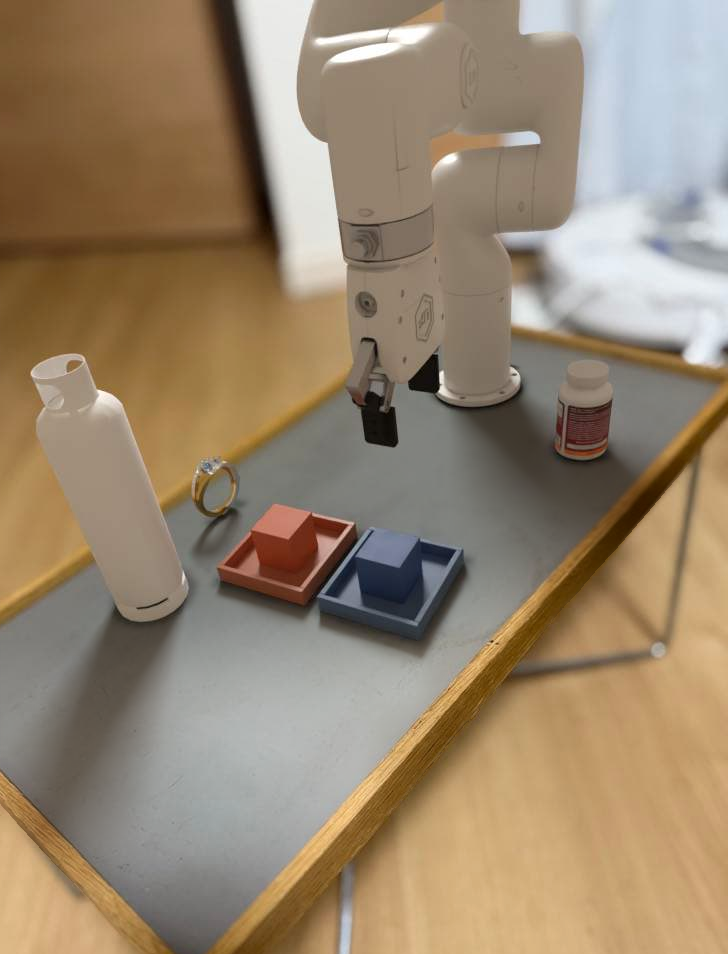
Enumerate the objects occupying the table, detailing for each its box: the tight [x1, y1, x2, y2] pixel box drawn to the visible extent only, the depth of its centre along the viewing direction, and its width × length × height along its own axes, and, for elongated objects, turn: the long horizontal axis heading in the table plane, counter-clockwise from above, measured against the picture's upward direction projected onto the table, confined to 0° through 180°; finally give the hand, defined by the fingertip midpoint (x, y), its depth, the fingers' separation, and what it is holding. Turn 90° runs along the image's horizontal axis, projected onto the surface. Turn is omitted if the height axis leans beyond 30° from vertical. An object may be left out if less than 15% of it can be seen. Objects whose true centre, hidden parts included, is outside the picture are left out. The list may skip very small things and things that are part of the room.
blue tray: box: [316, 525, 465, 641], centre depth 74 cm, size 12×11×2 cm
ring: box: [191, 454, 241, 518], centre depth 86 cm, size 7×3×8 cm, turn 137°
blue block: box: [355, 527, 423, 604], centre depth 72 cm, size 5×5×5 cm
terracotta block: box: [249, 503, 318, 574], centre depth 78 cm, size 5×5×5 cm
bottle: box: [30, 353, 190, 623], centre depth 70 cm, size 8×8×28 cm
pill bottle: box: [554, 359, 614, 461], centre depth 85 cm, size 6×6×11 cm
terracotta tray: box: [216, 512, 358, 607], centre depth 80 cm, size 12×11×2 cm
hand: (404, 416), depth 67 cm, fingers open, 9 cm apart
